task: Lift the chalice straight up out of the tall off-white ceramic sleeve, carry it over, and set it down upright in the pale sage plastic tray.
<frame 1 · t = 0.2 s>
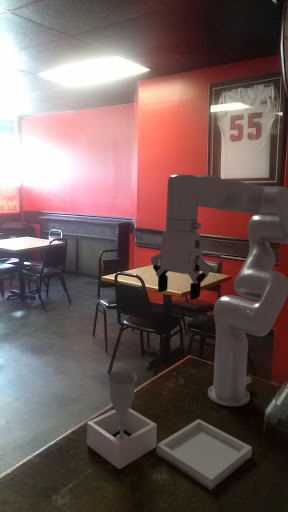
hand: (178, 294, 102), 36 cm above the table, tool pointing down, fingers open, 9 cm apart
tray: (203, 455, 97), on the table
sleeve: (121, 445, 100), on the table
chalice: (121, 446, 100), resting in sleeve
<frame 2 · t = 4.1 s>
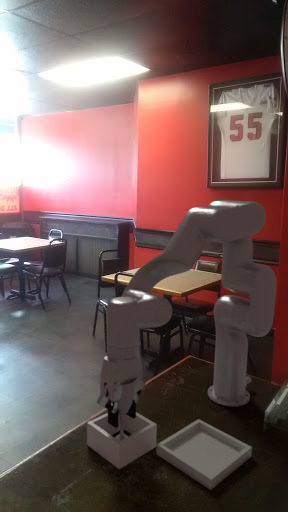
hand: (121, 419, 99), 7 cm above the table, tool pointing down, fingers closed on chalice, 4 cm apart
chalice: (121, 446, 100), resting in sleeve, touching gripper
when the fingers open (9 cm above the table, at t = 11.9 s): chalice moves 2 cm, resting on tray.
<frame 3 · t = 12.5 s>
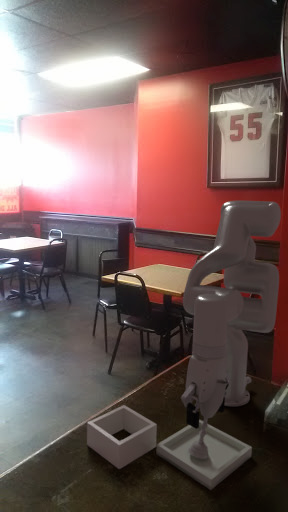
hand: (205, 417, 96), 10 cm above the table, tool pointing down, fingers open, 9 cm apart
chalice: (198, 454, 96), point 1 cm above the table, touching gripper, tray
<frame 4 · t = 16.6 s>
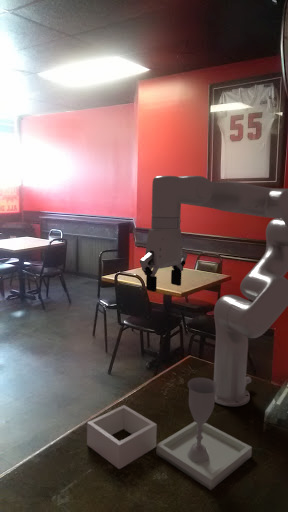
hand: (163, 287, 109), 36 cm above the table, tool pointing down, fingers open, 9 cm apart
chalice: (198, 456, 96), point 1 cm above the table, touching tray
at the end: chalice inside the target area on the tray (2.1 cm from its centre), point 0.7 cm above the tray's base; chalice tilted 3°; chalice touching tray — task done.
